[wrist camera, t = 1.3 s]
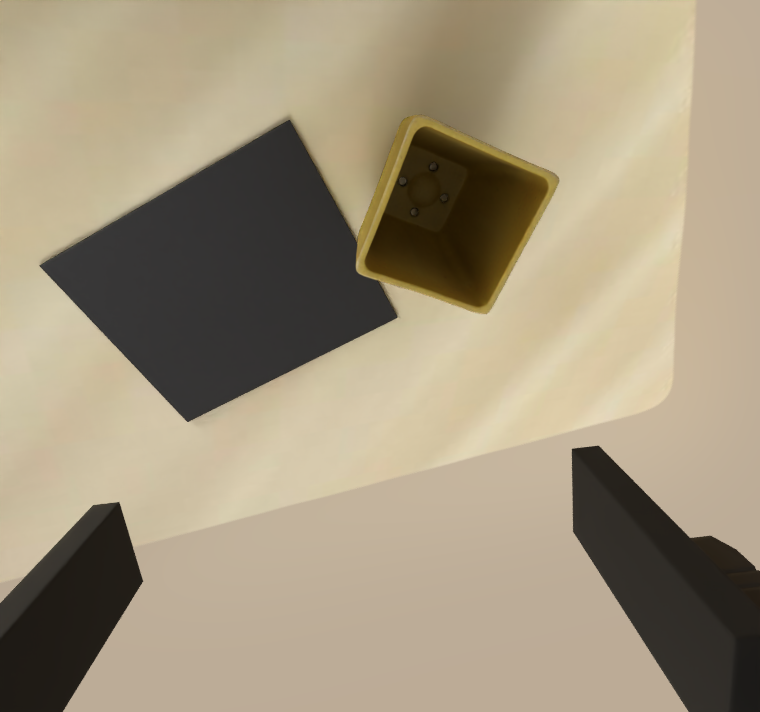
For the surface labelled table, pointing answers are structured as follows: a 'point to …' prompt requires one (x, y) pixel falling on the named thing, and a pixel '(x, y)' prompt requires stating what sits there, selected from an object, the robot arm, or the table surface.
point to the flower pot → (451, 215)
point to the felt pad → (226, 277)
